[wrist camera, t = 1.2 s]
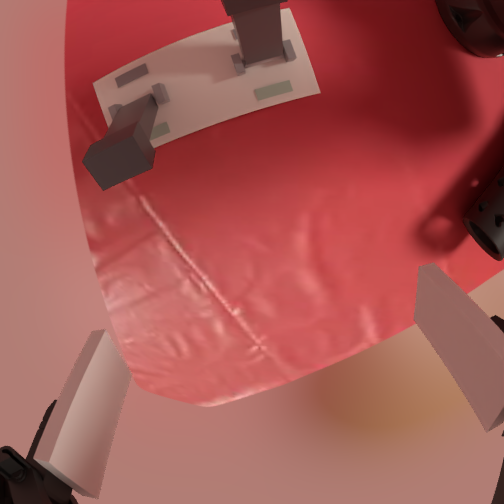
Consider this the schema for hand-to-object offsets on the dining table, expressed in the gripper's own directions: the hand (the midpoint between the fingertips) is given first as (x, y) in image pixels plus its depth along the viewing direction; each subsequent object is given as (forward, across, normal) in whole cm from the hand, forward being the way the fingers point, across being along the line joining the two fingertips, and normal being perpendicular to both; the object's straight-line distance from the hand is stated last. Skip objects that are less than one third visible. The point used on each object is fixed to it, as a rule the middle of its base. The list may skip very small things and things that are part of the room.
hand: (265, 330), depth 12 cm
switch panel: (+28, -2, +13) cm, 31 cm away
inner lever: (+22, +4, +13) cm, 26 cm away
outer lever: (+22, -9, +12) cm, 26 cm away
